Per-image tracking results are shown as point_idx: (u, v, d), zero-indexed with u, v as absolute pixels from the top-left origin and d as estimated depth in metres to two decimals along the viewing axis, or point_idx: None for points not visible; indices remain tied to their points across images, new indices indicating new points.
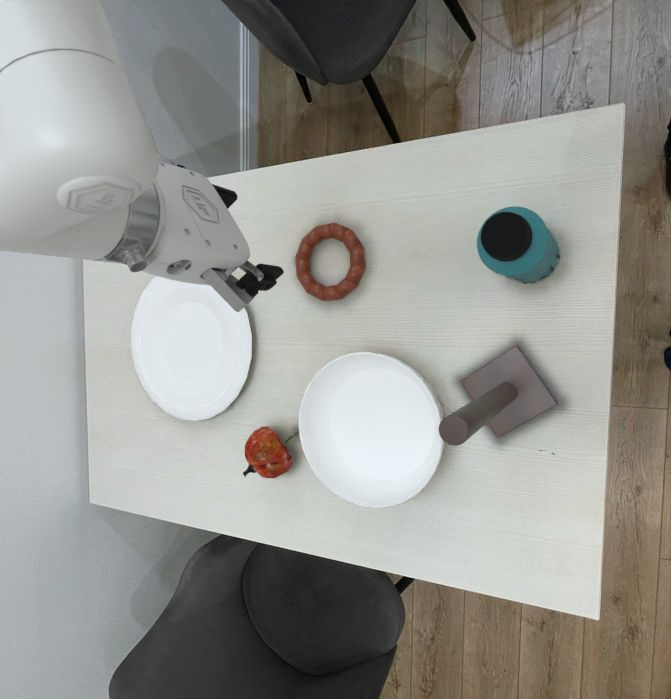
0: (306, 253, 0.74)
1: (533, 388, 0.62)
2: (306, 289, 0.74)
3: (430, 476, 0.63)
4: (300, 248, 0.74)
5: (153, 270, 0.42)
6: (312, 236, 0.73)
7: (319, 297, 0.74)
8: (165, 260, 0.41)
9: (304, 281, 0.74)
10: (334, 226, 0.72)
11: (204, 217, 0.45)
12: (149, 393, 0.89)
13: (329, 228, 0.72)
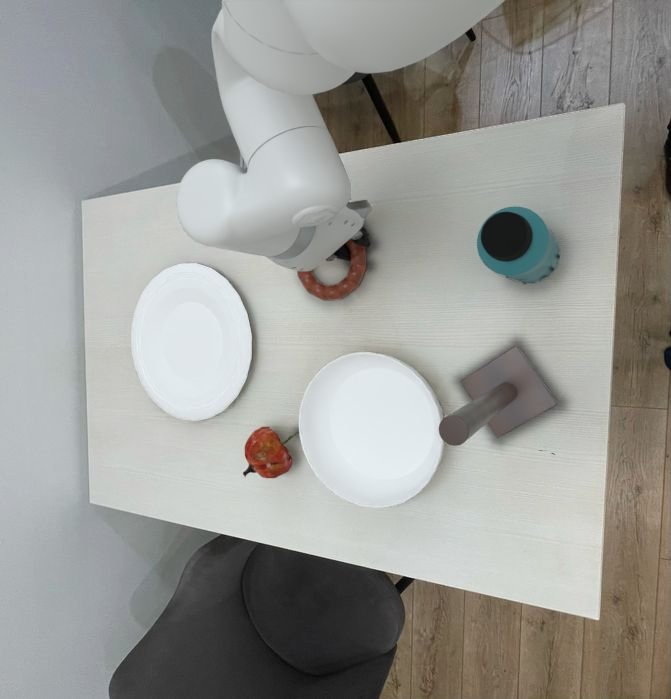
0: None
1: (533, 388, 0.62)
2: (307, 288, 0.74)
3: (430, 476, 0.63)
4: None
5: None
6: None
7: (320, 296, 0.74)
8: None
9: (305, 280, 0.74)
10: None
11: None
12: (149, 393, 0.89)
13: None
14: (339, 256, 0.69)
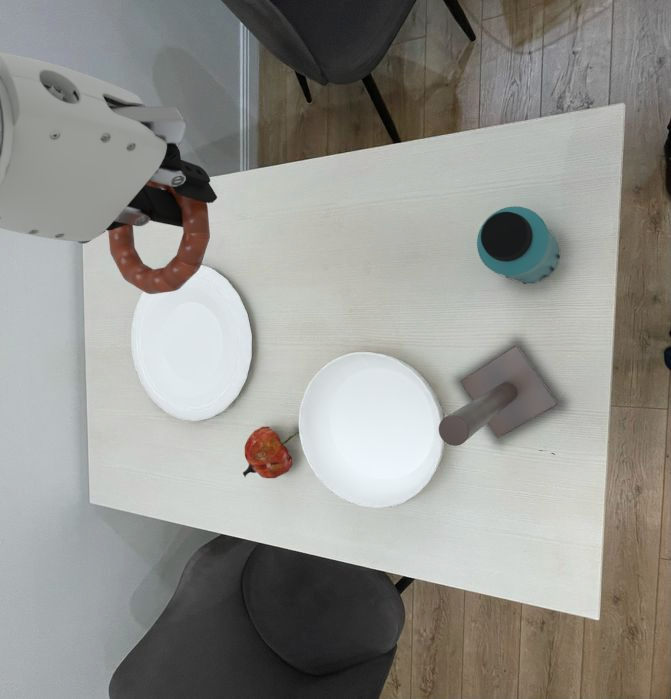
0: None
1: (533, 388, 0.62)
2: (122, 274, 0.45)
3: (430, 476, 0.63)
4: None
5: (35, 97, 0.27)
6: None
7: (141, 287, 0.44)
8: (23, 71, 0.27)
9: (119, 261, 0.45)
10: None
11: None
12: (149, 393, 0.89)
13: None
14: (154, 217, 0.40)
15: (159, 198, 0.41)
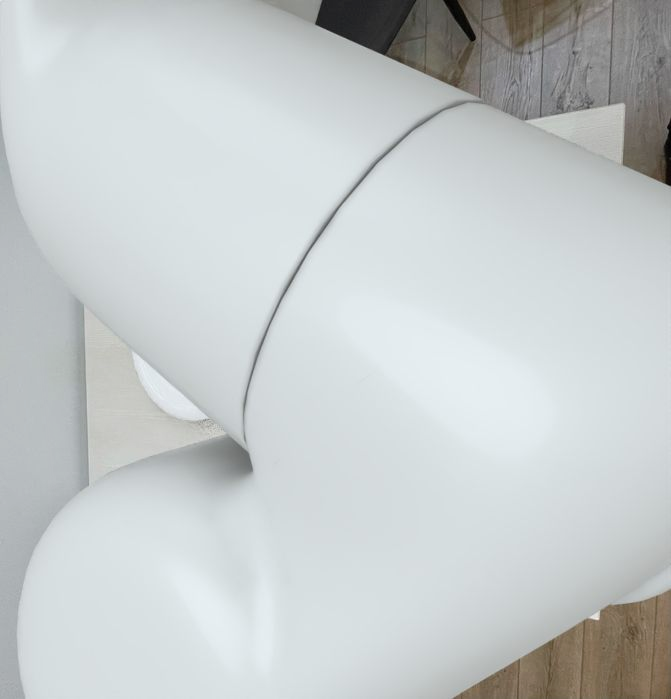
0: None
1: None
2: None
3: None
4: None
5: None
6: None
7: None
8: None
9: None
10: None
11: None
12: (149, 393, 0.89)
13: None
14: None
15: None
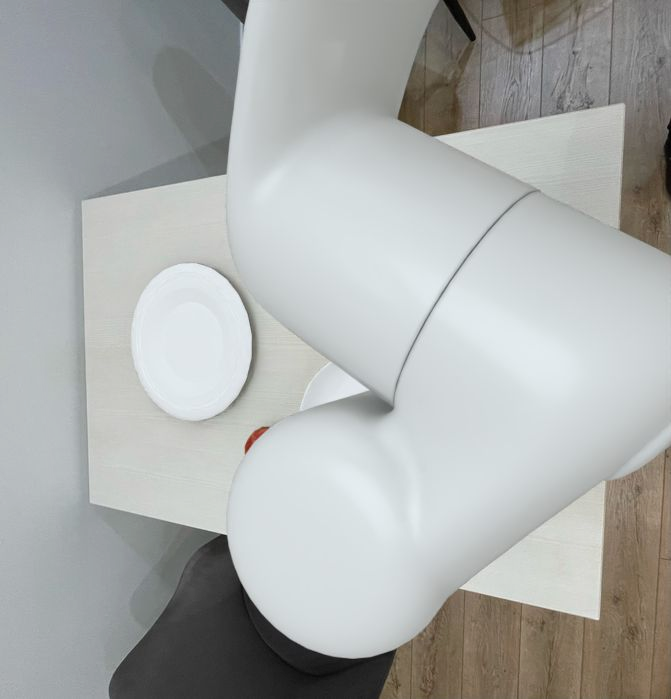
0: None
1: None
2: None
3: None
4: None
5: None
6: None
7: None
8: None
9: None
10: None
11: None
12: (149, 393, 0.89)
13: None
14: None
15: None
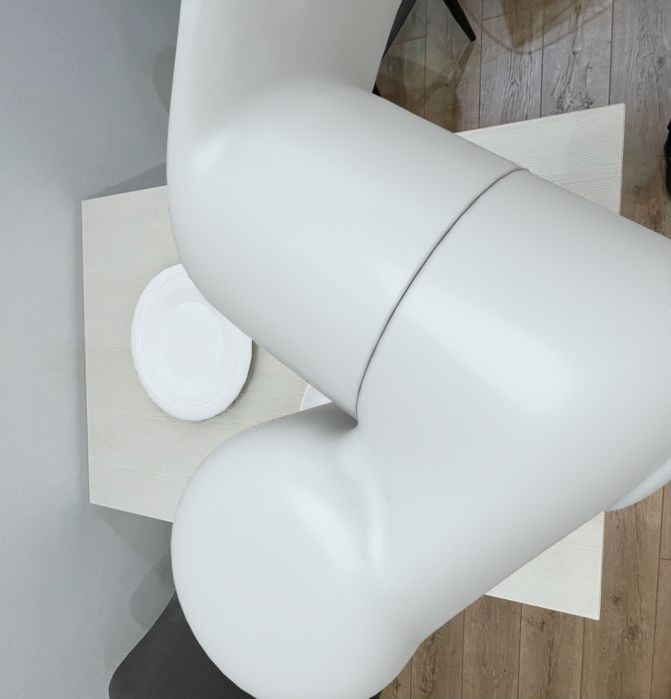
0: None
1: None
2: None
3: None
4: None
5: None
6: None
7: None
8: None
9: None
10: None
11: None
12: (149, 393, 0.89)
13: None
14: None
15: None
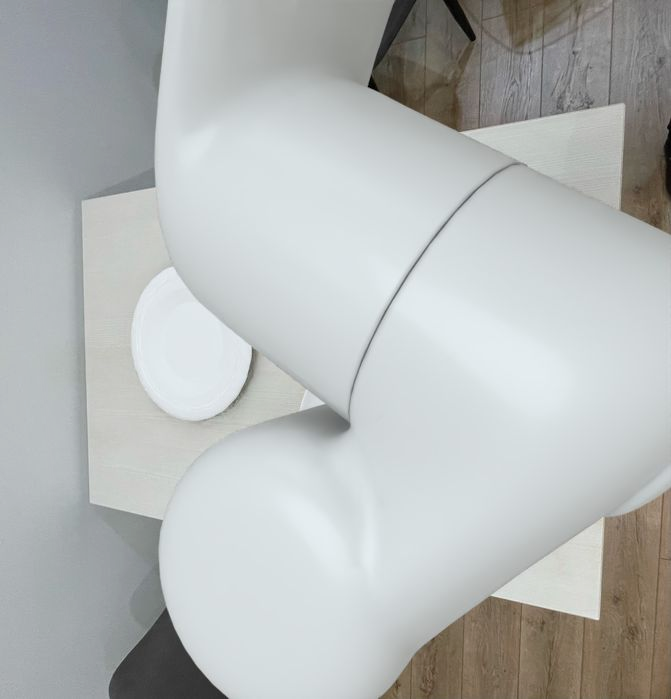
0: None
1: None
2: None
3: None
4: None
5: None
6: None
7: None
8: None
9: None
10: None
11: None
12: (149, 393, 0.89)
13: None
14: None
15: None
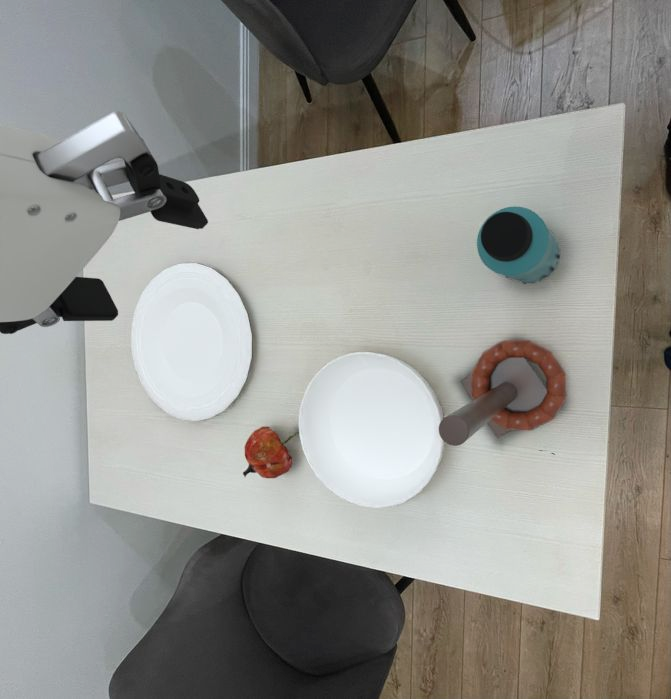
0: (487, 372, 0.63)
1: (533, 388, 0.62)
2: None
3: (430, 476, 0.63)
4: (480, 365, 0.63)
5: None
6: (498, 353, 0.62)
7: (503, 426, 0.62)
8: None
9: None
10: (530, 346, 0.60)
11: None
12: (149, 393, 0.89)
13: (523, 347, 0.60)
14: (65, 316, 0.34)
15: (74, 290, 0.35)
